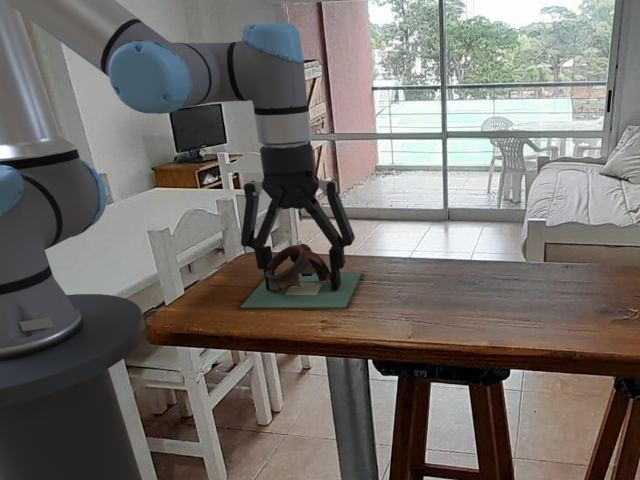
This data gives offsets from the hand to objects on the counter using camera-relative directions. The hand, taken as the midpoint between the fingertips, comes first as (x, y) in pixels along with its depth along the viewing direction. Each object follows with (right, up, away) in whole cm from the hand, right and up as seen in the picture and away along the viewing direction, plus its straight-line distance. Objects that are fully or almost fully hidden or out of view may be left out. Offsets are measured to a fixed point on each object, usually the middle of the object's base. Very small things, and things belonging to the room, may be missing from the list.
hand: (304, 287), depth 92 cm
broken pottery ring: (0, 0, 0) cm, 0 cm away
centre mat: (0, -1, 0) cm, 1 cm away
